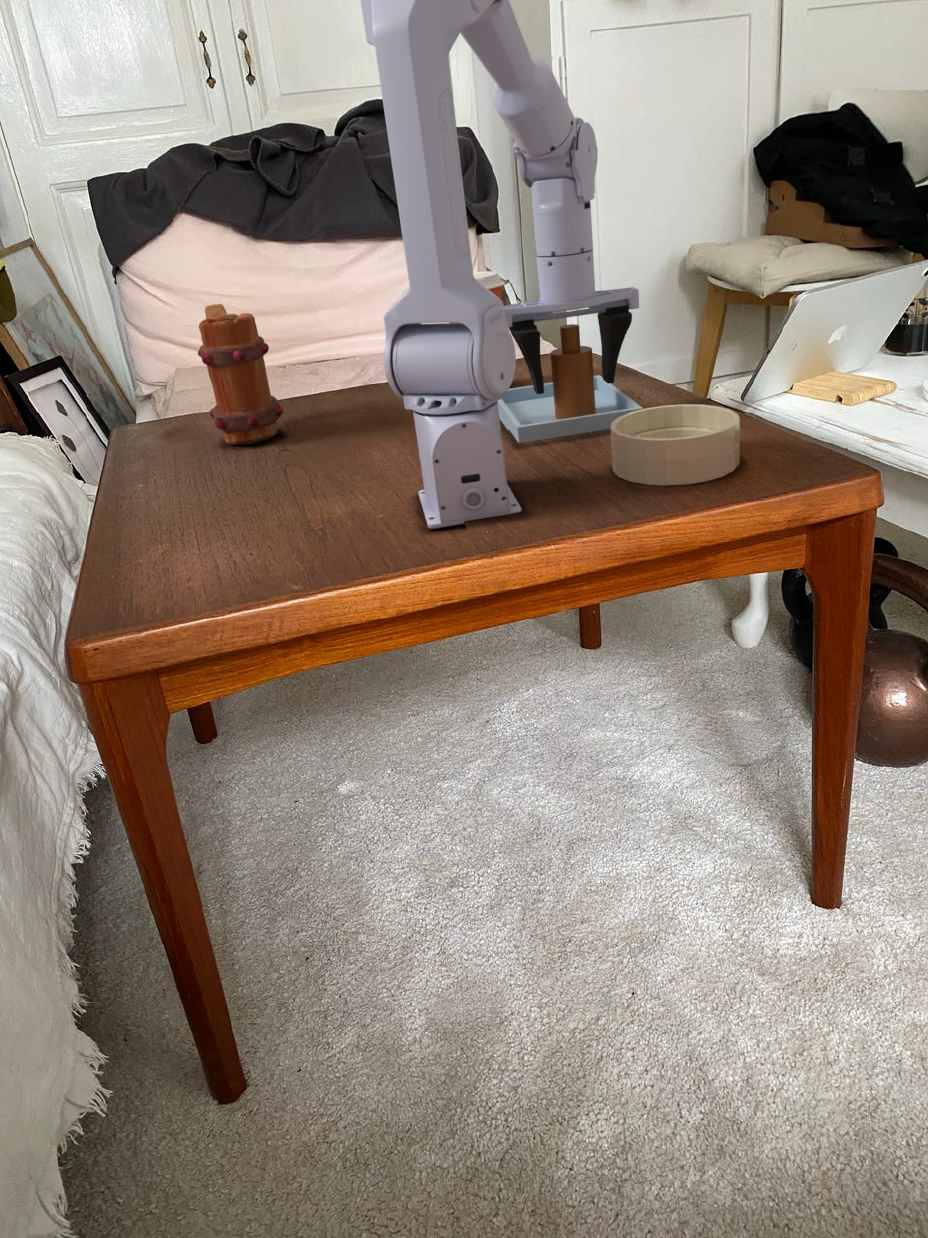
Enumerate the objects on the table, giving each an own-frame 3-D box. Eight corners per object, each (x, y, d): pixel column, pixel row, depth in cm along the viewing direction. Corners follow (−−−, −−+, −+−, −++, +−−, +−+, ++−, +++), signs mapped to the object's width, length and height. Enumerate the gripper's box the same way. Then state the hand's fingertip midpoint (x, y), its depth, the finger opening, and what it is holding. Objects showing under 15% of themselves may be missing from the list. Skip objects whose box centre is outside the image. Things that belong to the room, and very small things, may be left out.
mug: (294, 440, 111) (266, 307, 104) (224, 455, 108) (192, 320, 102) (270, 416, 123) (244, 296, 116) (207, 429, 121) (177, 307, 114)
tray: (644, 427, 98) (643, 407, 97) (519, 447, 97) (517, 427, 97) (600, 392, 114) (599, 374, 113) (492, 408, 113) (490, 391, 112)
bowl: (759, 478, 81) (760, 426, 79) (633, 498, 80) (631, 447, 78) (711, 444, 91) (711, 397, 89) (599, 462, 90) (596, 415, 88)
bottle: (600, 417, 102) (595, 326, 98) (560, 423, 101) (553, 332, 97) (590, 407, 106) (584, 320, 102) (551, 413, 105) (544, 325, 101)
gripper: (623, 239, 100) (628, 369, 106) (488, 259, 99) (501, 388, 105) (643, 244, 94) (647, 382, 100) (499, 265, 93) (512, 402, 99)
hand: (573, 386), depth 102 cm, fingers open, 7 cm apart
